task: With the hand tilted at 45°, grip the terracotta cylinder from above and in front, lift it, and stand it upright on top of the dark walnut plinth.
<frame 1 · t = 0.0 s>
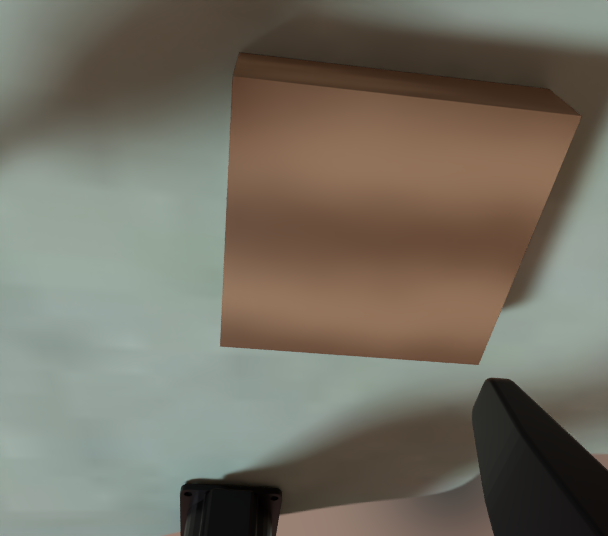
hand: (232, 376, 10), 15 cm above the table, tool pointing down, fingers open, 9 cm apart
walnut plinth: (368, 209, 25), on the table
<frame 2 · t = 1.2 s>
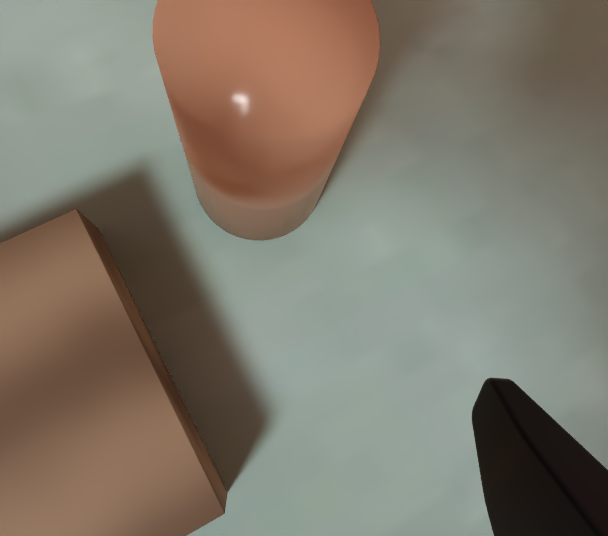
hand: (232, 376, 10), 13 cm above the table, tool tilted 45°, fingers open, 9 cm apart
terracotta cylinder: (258, 178, 24), on the table
walnut plinth: (18, 430, 22), on the table
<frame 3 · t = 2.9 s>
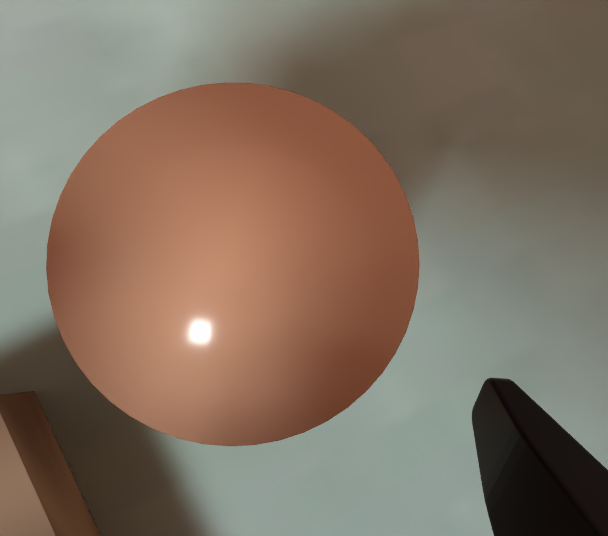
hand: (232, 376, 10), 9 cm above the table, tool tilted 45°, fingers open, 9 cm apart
terracotta cylinder: (243, 318, 19), on the table
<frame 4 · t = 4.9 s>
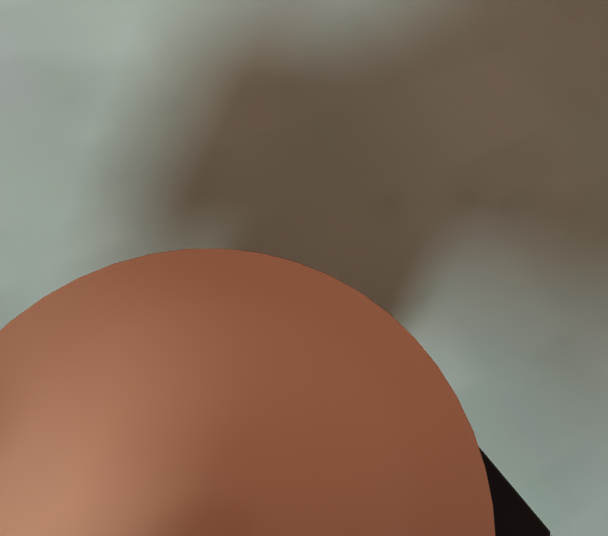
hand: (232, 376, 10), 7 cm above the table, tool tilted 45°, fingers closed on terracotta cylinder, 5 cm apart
terracotta cylinder: (233, 420, 16), on the table, touching gripper
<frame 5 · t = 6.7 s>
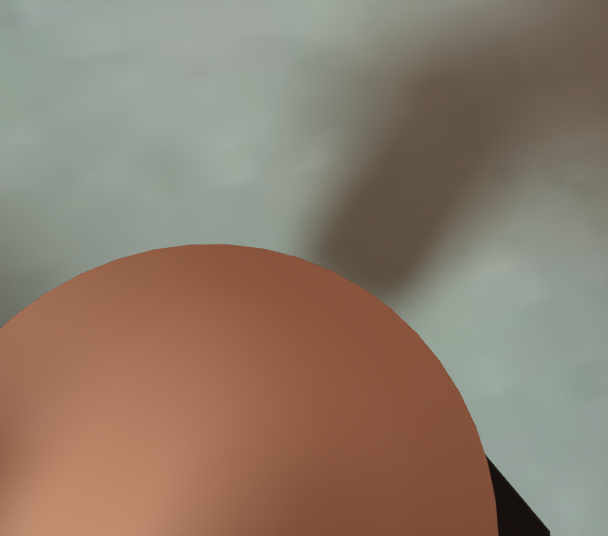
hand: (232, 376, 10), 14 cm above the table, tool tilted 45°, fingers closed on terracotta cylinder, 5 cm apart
terracotta cylinder: (234, 419, 16), point 7 cm above the table, touching gripper
when the fingers open (10 cm above the table, at t = 8.7 s): terracotta cylinder stays where it is, resting on walnut plinth.
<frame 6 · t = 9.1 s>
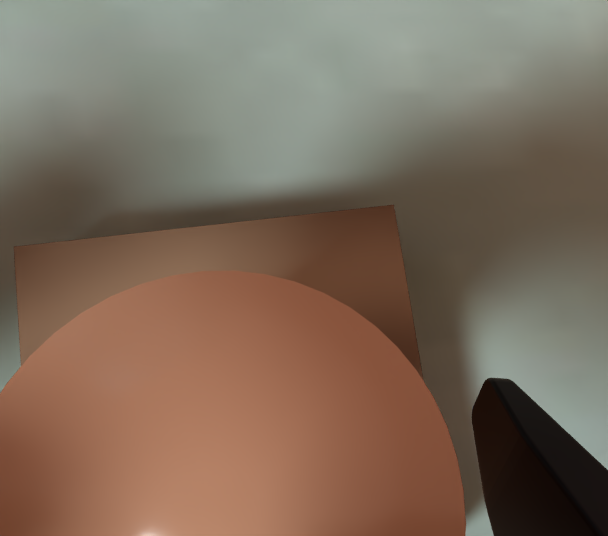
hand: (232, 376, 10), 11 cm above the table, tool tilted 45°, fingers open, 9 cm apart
terracotta cylinder: (235, 419, 17), point 3 cm above the table, touching walnut plinth
walnut plinth: (235, 408, 20), on the table
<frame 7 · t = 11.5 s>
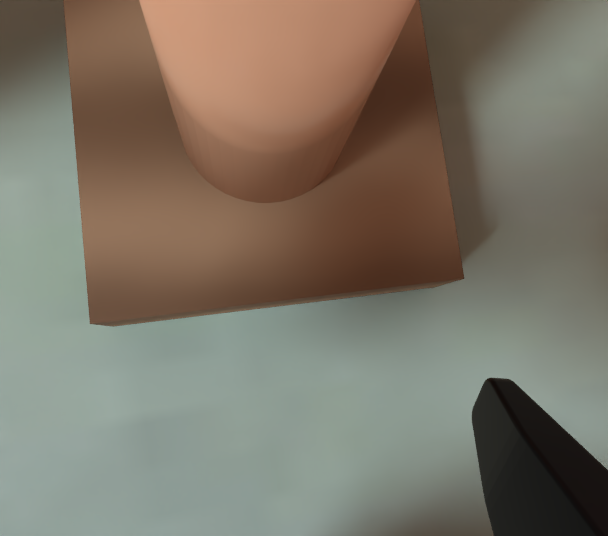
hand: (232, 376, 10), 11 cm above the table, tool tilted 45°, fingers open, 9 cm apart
terracotta cylinder: (263, 121, 18), point 3 cm above the table, touching walnut plinth
walnut plinth: (259, 150, 21), on the table
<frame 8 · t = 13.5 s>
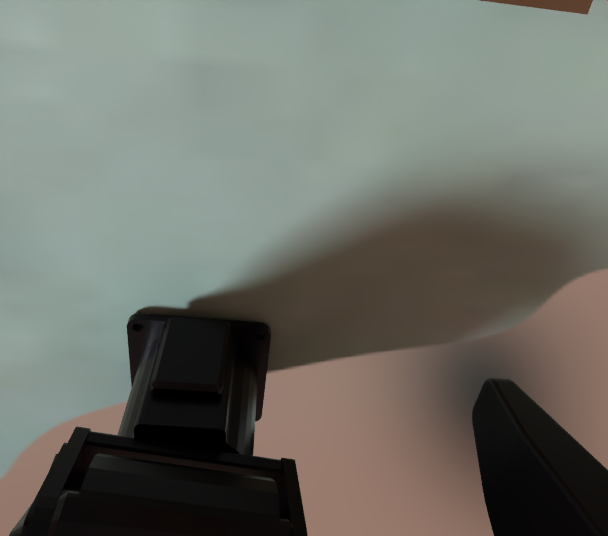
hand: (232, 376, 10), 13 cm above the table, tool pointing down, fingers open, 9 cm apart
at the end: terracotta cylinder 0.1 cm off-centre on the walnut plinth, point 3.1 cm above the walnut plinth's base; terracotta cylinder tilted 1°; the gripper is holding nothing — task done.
